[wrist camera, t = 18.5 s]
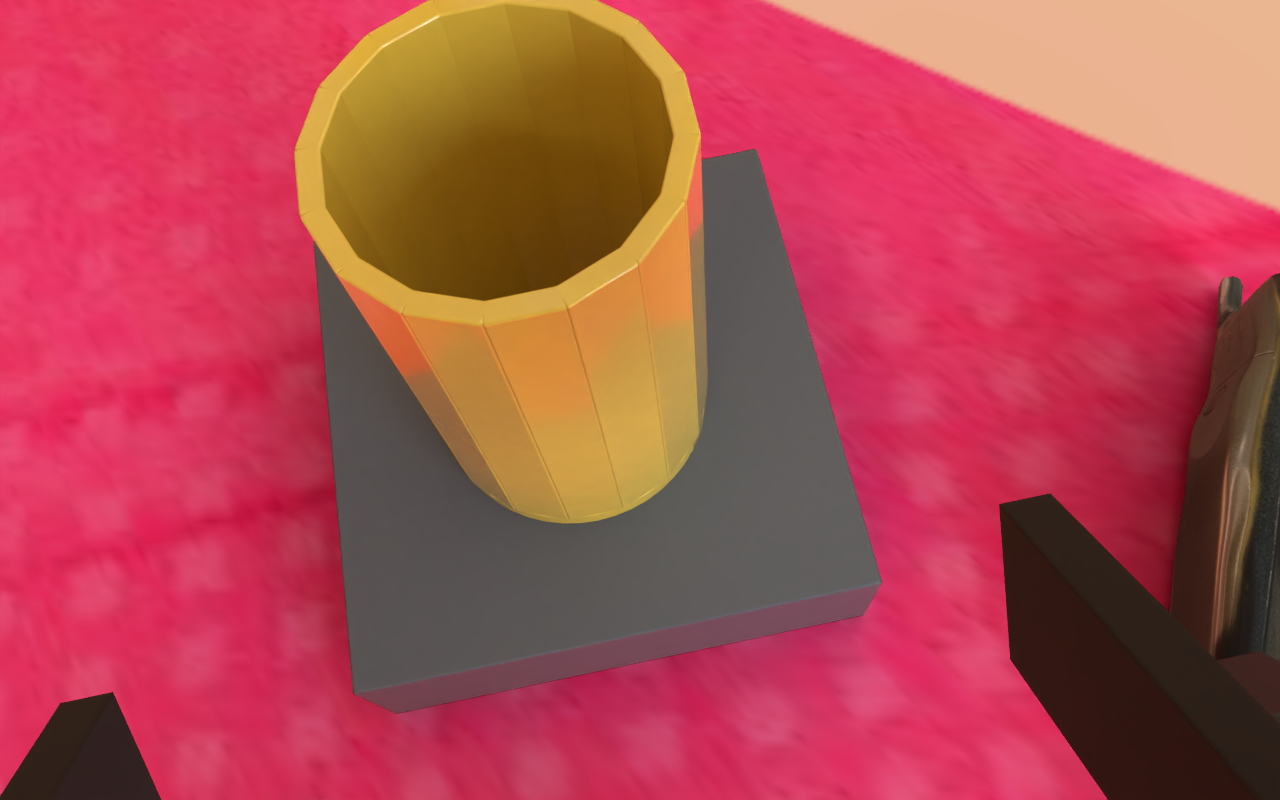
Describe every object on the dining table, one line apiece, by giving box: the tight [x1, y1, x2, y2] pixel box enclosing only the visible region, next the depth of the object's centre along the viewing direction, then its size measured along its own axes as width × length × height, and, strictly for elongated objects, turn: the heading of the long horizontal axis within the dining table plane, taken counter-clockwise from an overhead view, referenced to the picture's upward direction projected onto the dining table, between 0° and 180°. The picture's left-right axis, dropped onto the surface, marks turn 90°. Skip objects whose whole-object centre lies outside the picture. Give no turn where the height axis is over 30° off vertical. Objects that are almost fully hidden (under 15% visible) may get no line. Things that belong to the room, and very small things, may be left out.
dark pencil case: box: [1169, 273, 1280, 661], centre depth 30 cm, size 5×3×15 cm
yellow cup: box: [294, 0, 708, 523], centre depth 25 cm, size 7×7×12 cm
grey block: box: [313, 149, 882, 714], centre depth 33 cm, size 14×14×4 cm
